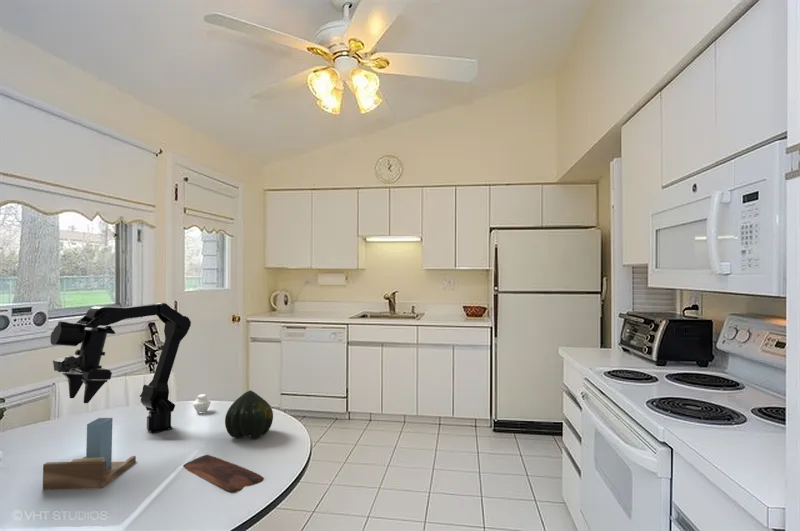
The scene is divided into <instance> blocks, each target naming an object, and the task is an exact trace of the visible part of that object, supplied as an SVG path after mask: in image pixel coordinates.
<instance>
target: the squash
mask: <svg viewBox="0 0 800 531" xmlns="http://www.w3.org/2000/svg"><path fill="white" fill-rule="evenodd" d="M273 421H274V412H273V409H272V406H271V405H270V403H268V402H267V401H266V400H265V399H264V398H263V397H262V396H260V395H259V394H257V393H256V392H255V391H252V390H251V389H250V390H248V391H246V392H244V393H243V394H242V395H240V396H239V397H238V398H237V399H236V400H235V401H234V402H233V403H232V404H231V405H230V407H229V408H228V410H227V412H226V414H225V418H224V425H225V429H226V431H227V433H228V434H229V436H230V437H232V438H233V439H242V438H248V437H250V438H251V439H252V440H257V439H259V438H260V437H261V436H264V435H266V434H267V433H268V432H269V430H270V429H271V427H272V424H273Z"/></svg>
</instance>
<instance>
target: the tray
mask: <svg viewBox="0 0 800 531" xmlns="http://www.w3.org/2000/svg"><path fill="white" fill-rule="evenodd" d="M83 458H86V456H84V457H83ZM136 459H137V457H136V455H131V456H130V457H129V458H128V459H126V460H124V461H111V466H110V467H109V468H108V469H106V461H90V462H71V461H48V462H47V461H46V462H45V463H44V464H43V465H42V466H43V467H42V490H43V491H44V490H81V489H86V490H87V489H89V490H90V489H104V488H105V487H107V486H108V485H109V484H111V482H113V481H114V480H115V479H116V478H118V477H119V476H120V475H122V473H124V472H125V471H126V470H128V469H129V468H130V467H132V465H134V464H135V463H136V462H137V460H136Z"/></svg>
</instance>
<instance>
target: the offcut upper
mask: <svg viewBox="0 0 800 531" xmlns="http://www.w3.org/2000/svg"><path fill="white" fill-rule="evenodd" d="M90 461H104V457H97V458H84V457H83V458H82V457H81V458H73V459H72V460H71V461H70V462H90Z"/></svg>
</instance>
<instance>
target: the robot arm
mask: <svg viewBox="0 0 800 531" xmlns="http://www.w3.org/2000/svg"><path fill="white" fill-rule="evenodd" d="M150 316H157V317H158V319H159V320H160V321H161V322H162V323H164V328H163V329H164V330H163V332H164V342H163V346H162V348H161V352H160V355H159V358H158V362H157V364H156V368H155V372H154V373H153V377H152V380H151V381H150V382H149V384H148V385H147V384H143V387H142V391H141V394H139V397H140V403H141V404H142V406H144V407H145V409H146V411H148V415H147V417H146V429H147V430H148V432H150V434H156V433H159V432H164V431H169V430H172V429H173V426H172V412H174V410H175V407H176V404H175V403H174V402H172V401H170V400H169V396H170V388H169V380H170V375H171V373H172V369H173V366H174V364H175V360H176V357H177V354H178V350H179V347H180V343H181V341H183V339H184V338H185V337H186V335H187V334H188V333H189V330H190V328H191V327H192V326H191V325H192V322H191V320H190V318H189V317H188V316H186V315H182V313H180V312H179V311H177V310H176V309H174V308H172V307H171V306H170V305H169V304H167V303H166V302H155V303H149V304H140V305H132V306H131V305H130V306H122V307H121V306H119V307H117V306H103V305H96V306H92V307H90V308H89V309H88V310H87V312H86V313H85V315H84V316H82V317H81V318H80V319H79V320H78V321H77V322H75V323H74V322H68V321H63V320H61V321H60V320H59V321H57V325H56V326H55V327H54V329H53V330H52V332H51V333H50V344H51V345H52V346H62V347H63V346H67V347H77V346H78V345H79V344H80V348H79V349H77V350H75V352H74V354H72V355H67V356H66V355H65V356H63V357H59V358H54V359H52V365H53V370H54V372H58V373H62V376H64V377H65V378H66V379H67V383H68V393H69V394H68V395H69V396H68V397H69V398H70V399H75V397H76V396H77V394H78V392H79V391H80V389H81V387H82V386H83V384H84V394H83V403H84V404H88V403H89V402H90V401H91V400H92V399H93V398H94V397H95V395H96V394H97V393H98V392H99V390H100V389H101V388H102V387H103V386H104V385H105V383H107V382H108V380H111V378H112V374H113V372H112V371H111V369H108V368H103V365H100V363H101V359H102V356H106V351H104V348H105V344H106V341H107V340H106V339H107V335H108V334H109V335H115V334H116V331H115V330H114V329H113V328H112V326H111V325H113V324H116V323H118V322H121V321H123V320H129V319H136V318H142V317H150ZM103 326H104V327H103ZM86 328H89V329H86Z"/></svg>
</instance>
